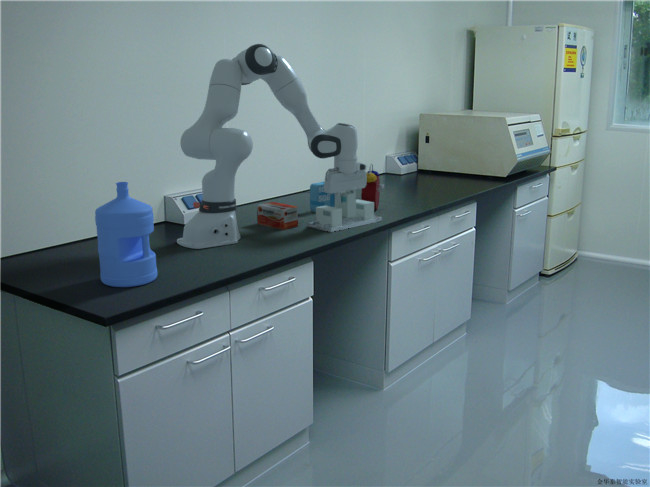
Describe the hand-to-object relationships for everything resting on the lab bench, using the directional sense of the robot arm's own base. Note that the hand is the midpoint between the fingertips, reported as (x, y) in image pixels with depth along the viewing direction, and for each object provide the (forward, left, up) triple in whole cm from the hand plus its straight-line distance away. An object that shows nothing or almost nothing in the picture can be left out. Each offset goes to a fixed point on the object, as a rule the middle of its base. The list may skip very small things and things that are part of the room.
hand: (345, 202), depth 255 cm
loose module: (0, 0, -5) cm, 5 cm away
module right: (+9, 0, -7) cm, 11 cm away
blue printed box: (+11, +24, -9) cm, 28 cm away
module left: (-9, 0, -7) cm, 11 cm away
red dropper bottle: (+27, +10, -9) cm, 30 cm away
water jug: (-95, -7, -9) cm, 96 cm away
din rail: (0, 0, -8) cm, 9 cm away
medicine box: (-20, +16, -9) cm, 28 cm away
